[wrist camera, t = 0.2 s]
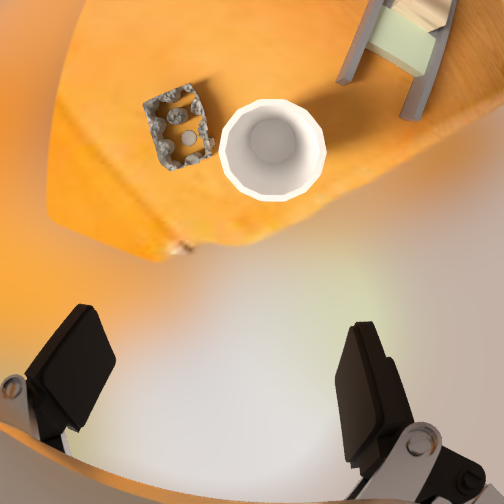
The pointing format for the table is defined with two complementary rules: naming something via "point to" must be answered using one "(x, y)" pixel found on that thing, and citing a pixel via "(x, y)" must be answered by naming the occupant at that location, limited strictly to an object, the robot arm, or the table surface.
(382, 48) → the pad
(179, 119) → the egg carton
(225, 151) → the foam cup
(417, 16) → the maple block
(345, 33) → the table surface
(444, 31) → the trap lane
